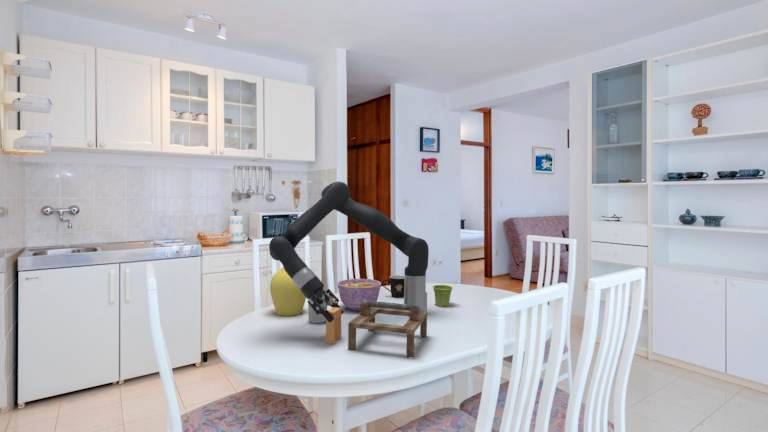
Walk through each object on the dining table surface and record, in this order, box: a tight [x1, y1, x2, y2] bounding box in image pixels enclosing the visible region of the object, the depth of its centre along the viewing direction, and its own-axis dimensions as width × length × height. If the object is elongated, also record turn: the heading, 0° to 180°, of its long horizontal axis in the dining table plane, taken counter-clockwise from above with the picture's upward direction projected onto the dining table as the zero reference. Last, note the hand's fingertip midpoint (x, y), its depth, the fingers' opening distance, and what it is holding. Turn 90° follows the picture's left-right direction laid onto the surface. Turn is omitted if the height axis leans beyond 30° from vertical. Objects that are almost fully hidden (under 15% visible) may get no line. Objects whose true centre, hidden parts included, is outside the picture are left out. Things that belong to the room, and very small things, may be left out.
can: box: [307, 298, 328, 325], centre depth 170 cm, size 8×8×12 cm
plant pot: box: [432, 284, 454, 308], centre depth 198 cm, size 9×9×9 cm
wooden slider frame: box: [347, 300, 428, 358], centre depth 147 cm, size 22×22×14 cm
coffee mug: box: [381, 275, 404, 299], centre depth 214 cm, size 12×9×10 cm
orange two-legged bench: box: [325, 307, 342, 345], centre depth 148 cm, size 3×6×11 cm, turn 163°
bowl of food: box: [336, 278, 382, 312], centre depth 191 cm, size 20×20×12 cm
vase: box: [269, 247, 307, 317], centre depth 182 cm, size 16×16×28 cm
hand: (337, 317), depth 147 cm, fingers open, 8 cm apart
